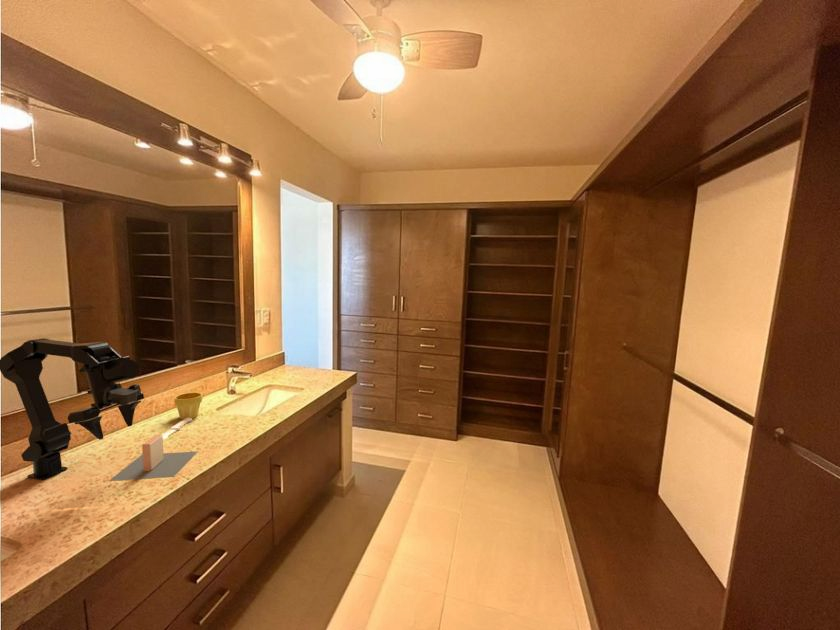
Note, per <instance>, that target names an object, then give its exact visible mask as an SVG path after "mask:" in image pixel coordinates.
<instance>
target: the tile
mask: <svg viewBox="0 0 840 630" xmlns="http://www.w3.org/2000/svg"><path fill="white" fill-rule="evenodd" d="M162 434H163V433H162ZM162 434H160V433H159V434H154V435H153V436H151V437H149V438H148V439H147V440H146V441H145V442H143V443H142V444H141V448H142V454H143V469H144V471H151V470H152V469H153V468H155V467H156V466H157V465H158V464H159V463H160V462H161V461H162V460H163V459H164V456H163V453H164V442H163V441H164V439H163V436H162Z"/></svg>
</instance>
